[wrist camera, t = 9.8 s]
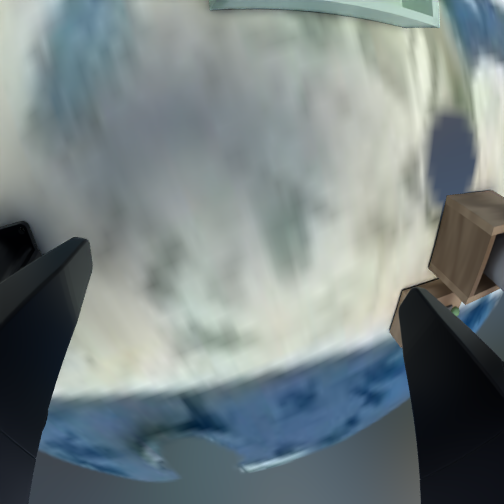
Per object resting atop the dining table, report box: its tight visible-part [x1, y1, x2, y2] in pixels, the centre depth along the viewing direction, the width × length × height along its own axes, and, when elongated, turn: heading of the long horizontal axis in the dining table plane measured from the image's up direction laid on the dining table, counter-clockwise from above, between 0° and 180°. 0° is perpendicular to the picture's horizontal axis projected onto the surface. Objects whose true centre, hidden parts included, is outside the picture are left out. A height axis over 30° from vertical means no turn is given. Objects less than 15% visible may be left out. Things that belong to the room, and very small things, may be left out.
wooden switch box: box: [390, 279, 462, 347], centre depth 30 cm, size 8×6×3 cm
